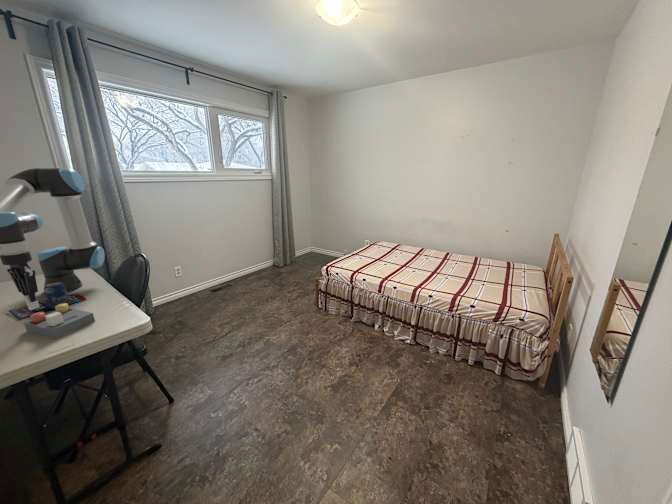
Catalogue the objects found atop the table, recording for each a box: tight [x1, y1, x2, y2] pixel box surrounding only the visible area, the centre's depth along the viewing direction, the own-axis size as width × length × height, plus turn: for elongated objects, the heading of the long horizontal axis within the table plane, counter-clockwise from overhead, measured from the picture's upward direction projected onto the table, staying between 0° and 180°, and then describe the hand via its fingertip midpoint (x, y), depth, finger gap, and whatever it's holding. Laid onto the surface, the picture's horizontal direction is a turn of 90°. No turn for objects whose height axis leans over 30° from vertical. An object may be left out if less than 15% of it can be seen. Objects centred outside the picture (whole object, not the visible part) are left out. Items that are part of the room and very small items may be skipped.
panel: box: [23, 307, 96, 340], centre depth 113 cm, size 18×14×4 cm
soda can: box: [43, 282, 71, 310], centre depth 129 cm, size 7×7×12 cm
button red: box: [29, 311, 46, 323], centre depth 110 cm, size 4×4×3 cm
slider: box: [45, 312, 64, 326], centre depth 108 cm, size 3×4×4 cm
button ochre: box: [54, 303, 70, 313], centre depth 118 cm, size 4×4×3 cm
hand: (34, 308), depth 109 cm, fingers closed
